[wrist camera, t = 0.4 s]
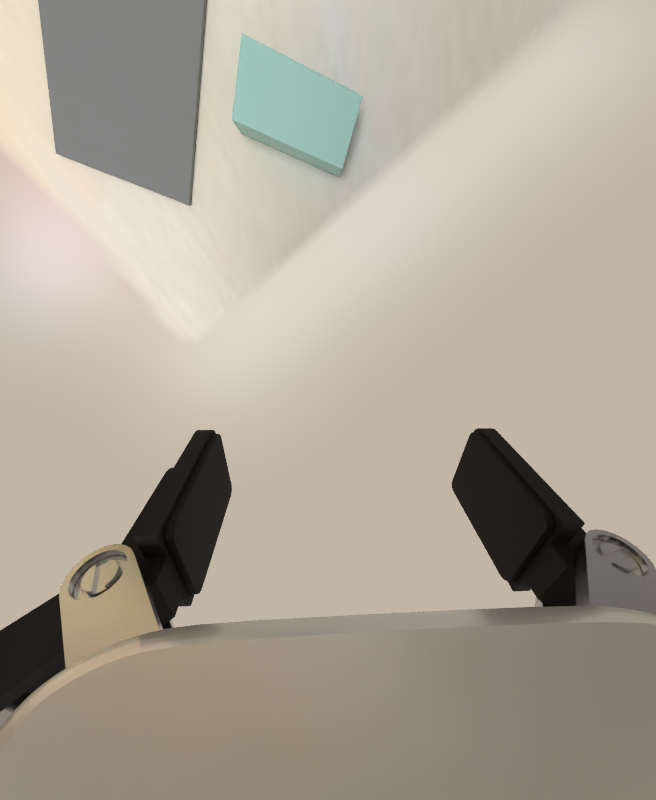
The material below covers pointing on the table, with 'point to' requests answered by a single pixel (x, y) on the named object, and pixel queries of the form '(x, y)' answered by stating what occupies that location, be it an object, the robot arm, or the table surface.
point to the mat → (127, 87)
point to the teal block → (293, 107)
